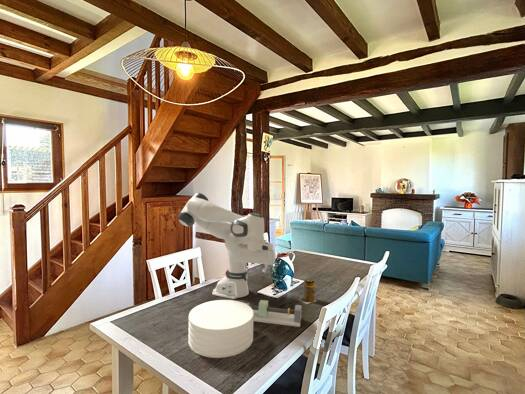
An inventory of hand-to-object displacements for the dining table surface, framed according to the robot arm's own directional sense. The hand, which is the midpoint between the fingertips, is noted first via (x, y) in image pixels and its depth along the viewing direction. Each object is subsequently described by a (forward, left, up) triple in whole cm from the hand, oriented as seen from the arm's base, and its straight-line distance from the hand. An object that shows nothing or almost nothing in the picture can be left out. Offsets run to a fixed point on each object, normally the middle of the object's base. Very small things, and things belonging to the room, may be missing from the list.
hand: (255, 271), depth 146 cm
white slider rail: (+9, -2, -23) cm, 25 cm away
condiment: (+26, +25, -23) cm, 43 cm away
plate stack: (-9, -25, -23) cm, 35 cm away
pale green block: (+5, -2, -21) cm, 22 cm away
